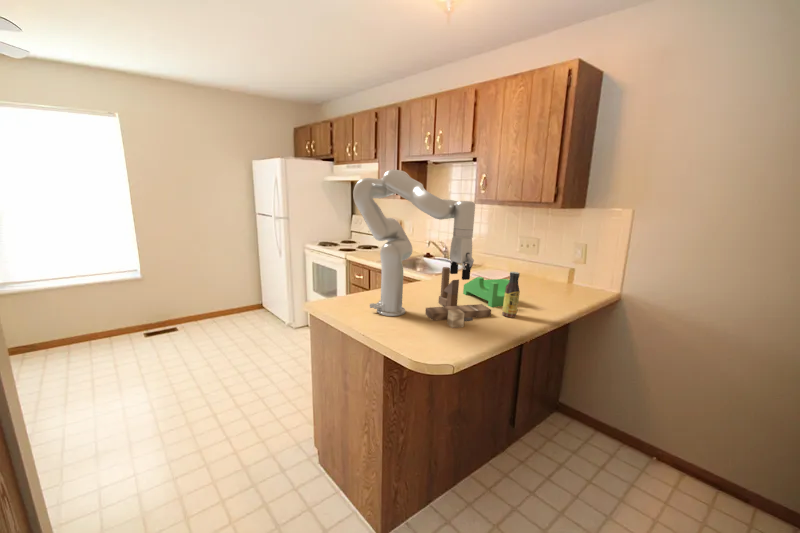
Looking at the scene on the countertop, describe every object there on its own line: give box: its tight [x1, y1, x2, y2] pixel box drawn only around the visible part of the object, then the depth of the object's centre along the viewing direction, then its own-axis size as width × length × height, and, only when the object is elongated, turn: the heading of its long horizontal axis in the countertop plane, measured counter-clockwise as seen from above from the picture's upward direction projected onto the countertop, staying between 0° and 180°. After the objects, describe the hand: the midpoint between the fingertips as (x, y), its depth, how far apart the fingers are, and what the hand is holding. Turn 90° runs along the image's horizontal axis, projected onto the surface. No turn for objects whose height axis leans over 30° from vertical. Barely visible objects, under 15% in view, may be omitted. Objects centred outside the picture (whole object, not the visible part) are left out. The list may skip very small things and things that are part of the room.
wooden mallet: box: [438, 266, 460, 307], centre depth 167 cm, size 4×11×18 cm, turn 26°
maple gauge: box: [446, 309, 474, 329], centre depth 144 cm, size 10×4×6 cm, turn 108°
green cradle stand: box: [462, 276, 510, 308], centre depth 182 cm, size 24×13×12 cm, turn 24°
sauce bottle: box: [501, 271, 521, 318], centre depth 157 cm, size 7×6×20 cm
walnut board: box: [424, 303, 492, 321], centre depth 156 cm, size 28×8×3 cm, turn 108°
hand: (459, 276), depth 140 cm, fingers open, 9 cm apart
